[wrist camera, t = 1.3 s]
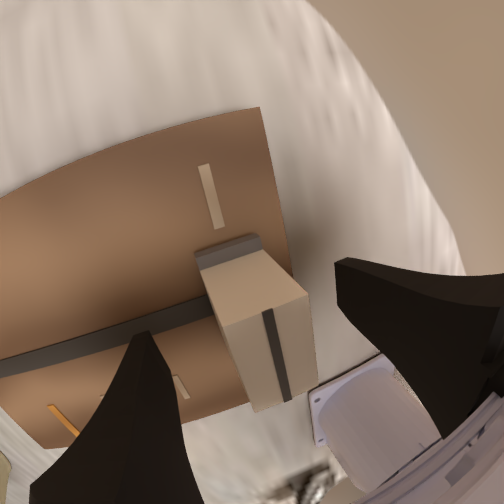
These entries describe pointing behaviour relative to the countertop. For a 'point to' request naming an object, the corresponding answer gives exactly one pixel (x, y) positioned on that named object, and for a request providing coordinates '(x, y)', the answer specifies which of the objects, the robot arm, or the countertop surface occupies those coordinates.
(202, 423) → the countertop surface
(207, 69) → the countertop surface
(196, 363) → the board
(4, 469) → the can
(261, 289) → the fader
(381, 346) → the robot arm
